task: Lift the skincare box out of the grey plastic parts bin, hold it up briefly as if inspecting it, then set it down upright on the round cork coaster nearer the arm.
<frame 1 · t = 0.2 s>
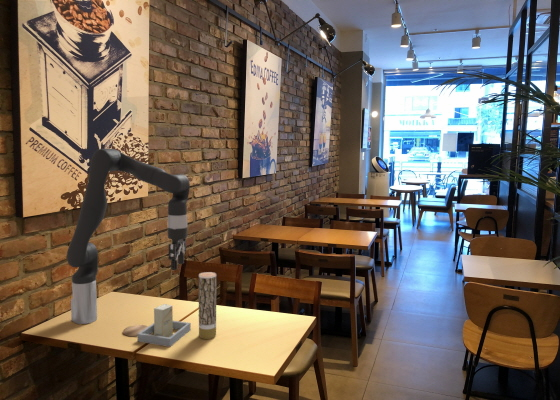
hand: (177, 266, 174), 28 cm above the table, tool pointing down, fingers open, 8 cm apart
parts bin: (165, 335, 175), on the table
cork coaster: (136, 331, 179), on the table
paper tube: (207, 336, 175), on the table
skincare box: (163, 337, 174), resting in parts bin
walnut block: (163, 330, 180), resting in parts bin
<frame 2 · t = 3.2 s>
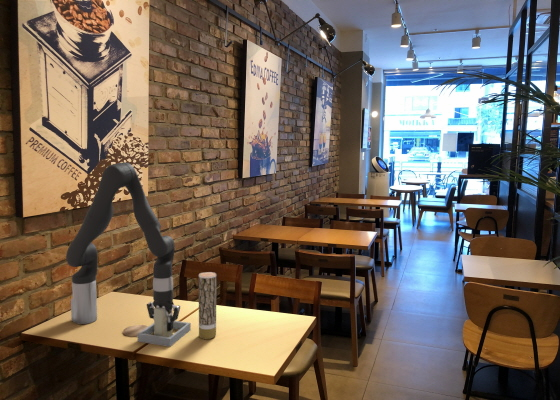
hand: (163, 329, 174), 3 cm above the table, tool pointing down, fingers closed on skincare box, 4 cm apart
skincare box: (163, 337, 174), resting in parts bin, touching gripper
everything else where it was.
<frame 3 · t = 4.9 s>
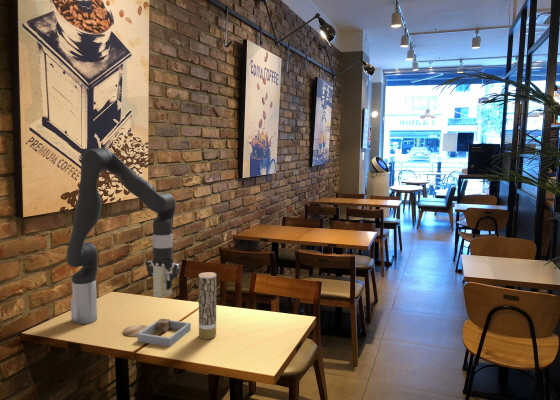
hand: (162, 288, 172), 20 cm above the table, tool pointing down, fingers closed on skincare box, 4 cm apart
skincare box: (162, 295, 172), point 17 cm above the table, touching gripper
everything else where it was.
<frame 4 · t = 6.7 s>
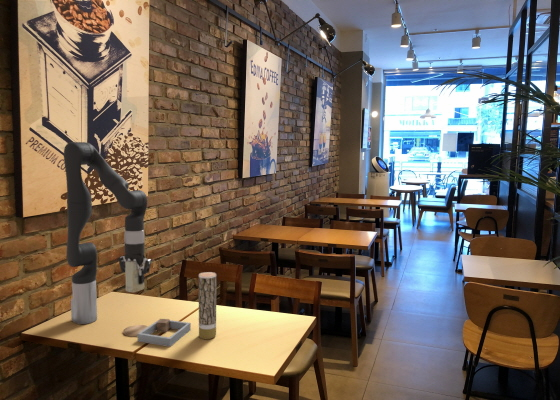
hand: (135, 282, 176), 20 cm above the table, tool pointing down, fingers closed on skincare box, 4 cm apart
skincare box: (135, 290, 177), point 17 cm above the table, touching gripper
everything else where it was.
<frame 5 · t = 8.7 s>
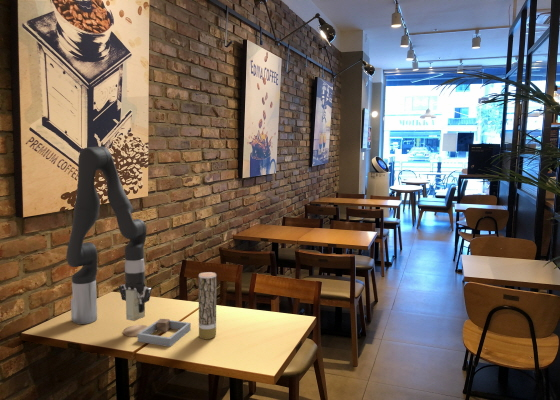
hand: (135, 311, 177), 8 cm above the table, tool pointing down, fingers closed on skincare box, 4 cm apart
skincare box: (135, 318, 178), point 5 cm above the table, touching gripper
everything else where it was.
when the fingers open (4 cm above the table, at t = 10.4 s): skincare box stays where it is, resting on cork coaster.
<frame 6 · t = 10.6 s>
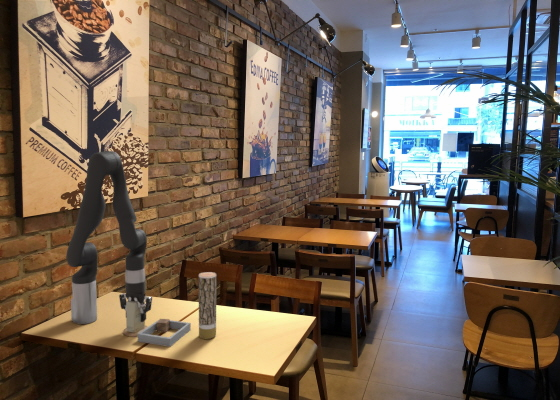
hand: (136, 320, 178), 5 cm above the table, tool pointing down, fingers open, 6 cm apart
skincare box: (135, 330, 179), resting on cork coaster
everything else where it was.
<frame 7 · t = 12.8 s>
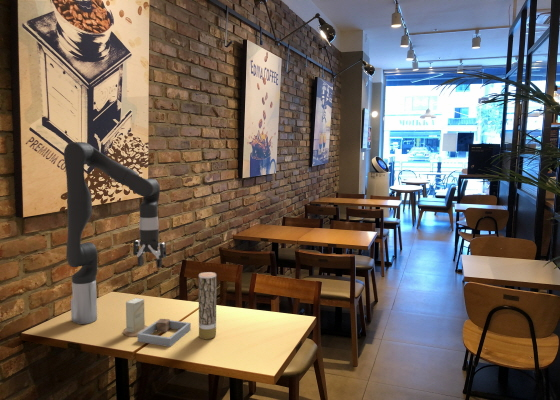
hand: (149, 266, 182), 25 cm above the table, tool pointing down, fingers open, 8 cm apart
nothing on the table moved.
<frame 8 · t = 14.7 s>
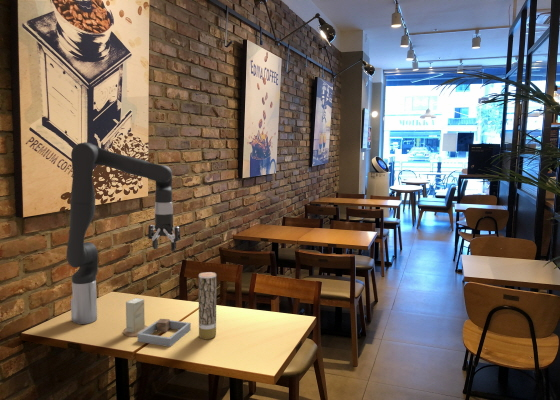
hand: (164, 249, 190), 30 cm above the table, tool pointing down, fingers open, 8 cm apart
nothing on the table moved.
at the end: skincare box inside the target area on the cork coaster (0.3 cm from its centre), point 0.4 cm above the cork coaster's base; skincare box tilted 0°; the gripper is holding nothing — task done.
